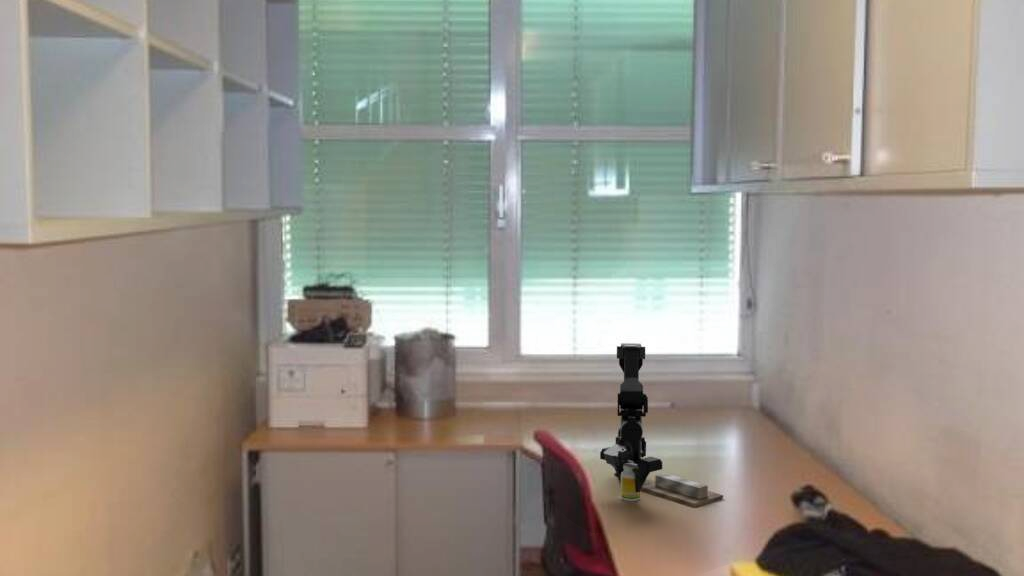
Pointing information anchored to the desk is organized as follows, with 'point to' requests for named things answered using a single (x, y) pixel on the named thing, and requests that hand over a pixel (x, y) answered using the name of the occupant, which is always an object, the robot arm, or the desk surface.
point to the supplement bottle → (628, 483)
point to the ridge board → (681, 496)
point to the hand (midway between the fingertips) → (630, 489)
